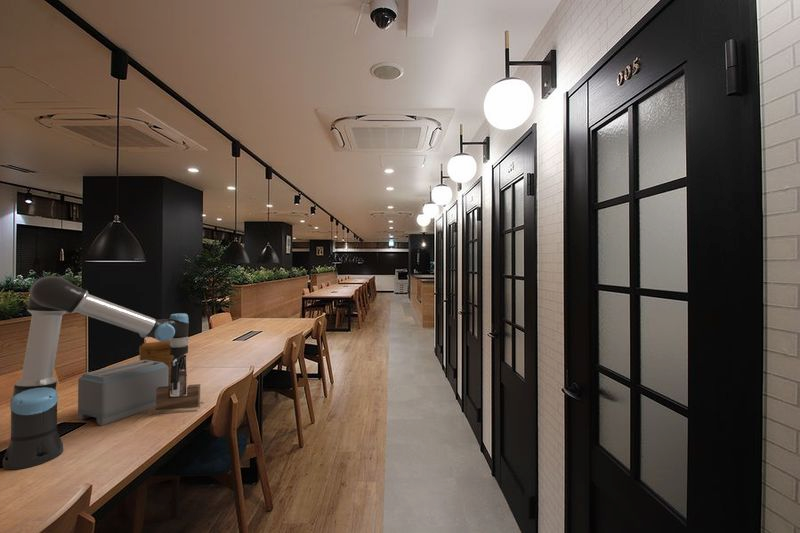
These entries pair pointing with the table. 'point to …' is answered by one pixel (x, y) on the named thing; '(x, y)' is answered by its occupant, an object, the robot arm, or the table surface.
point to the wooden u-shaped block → (177, 400)
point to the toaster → (120, 390)
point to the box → (181, 383)
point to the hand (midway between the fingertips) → (178, 393)
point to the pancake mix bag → (158, 354)
